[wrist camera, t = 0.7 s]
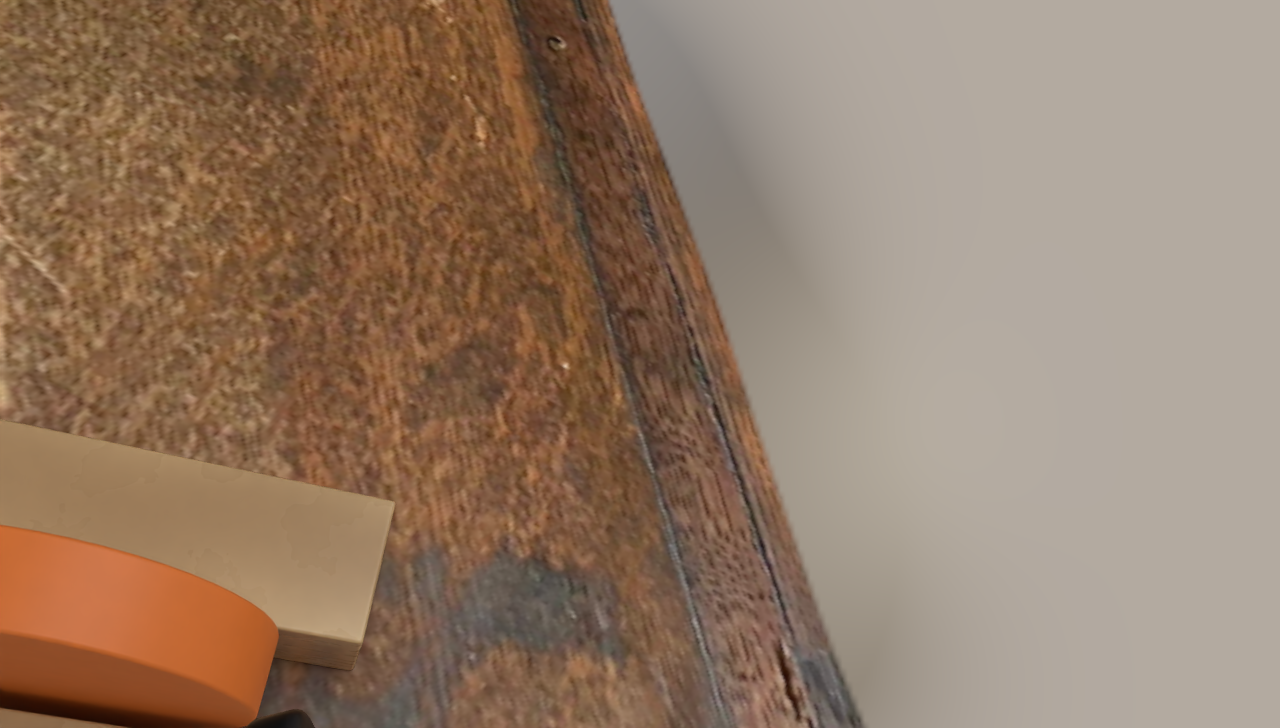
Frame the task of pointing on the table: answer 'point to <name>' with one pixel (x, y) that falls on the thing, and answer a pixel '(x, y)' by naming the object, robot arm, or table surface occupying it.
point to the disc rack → (206, 534)
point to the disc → (125, 638)
